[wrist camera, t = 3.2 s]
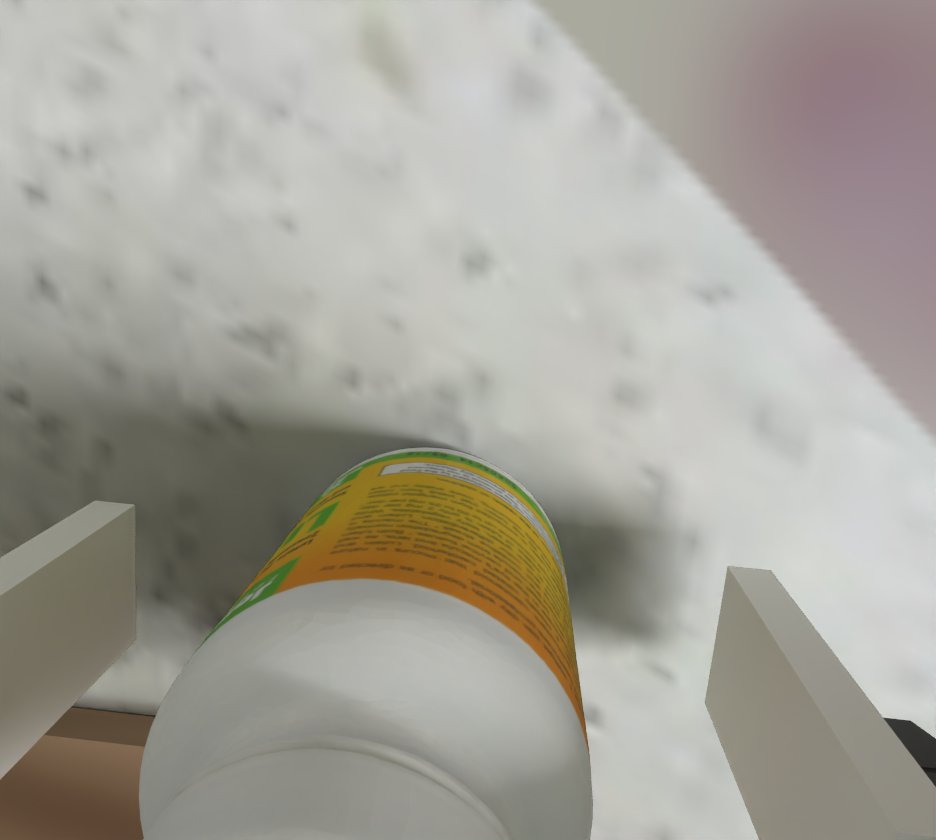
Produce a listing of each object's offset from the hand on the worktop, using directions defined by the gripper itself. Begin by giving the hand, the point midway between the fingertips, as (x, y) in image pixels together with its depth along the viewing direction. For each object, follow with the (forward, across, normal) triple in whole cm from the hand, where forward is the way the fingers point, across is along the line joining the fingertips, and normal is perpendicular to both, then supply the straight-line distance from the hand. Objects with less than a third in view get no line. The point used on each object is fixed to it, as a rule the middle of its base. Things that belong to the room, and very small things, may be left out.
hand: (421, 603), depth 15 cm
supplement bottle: (+2, 0, 0) cm, 2 cm away
